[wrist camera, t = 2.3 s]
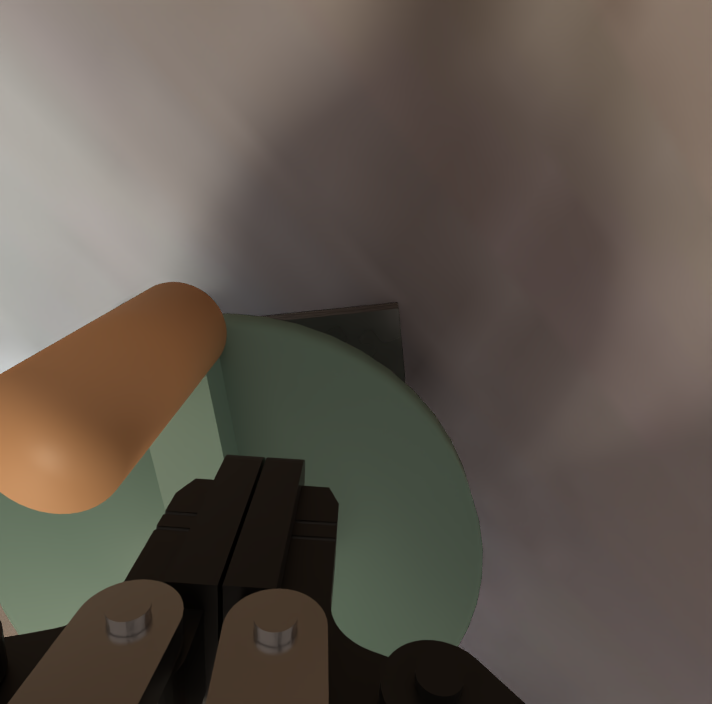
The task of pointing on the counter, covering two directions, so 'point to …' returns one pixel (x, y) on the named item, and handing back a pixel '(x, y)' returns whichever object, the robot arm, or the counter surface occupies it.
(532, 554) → the counter surface
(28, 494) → the handwheel
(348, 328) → the pedestal
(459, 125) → the counter surface
